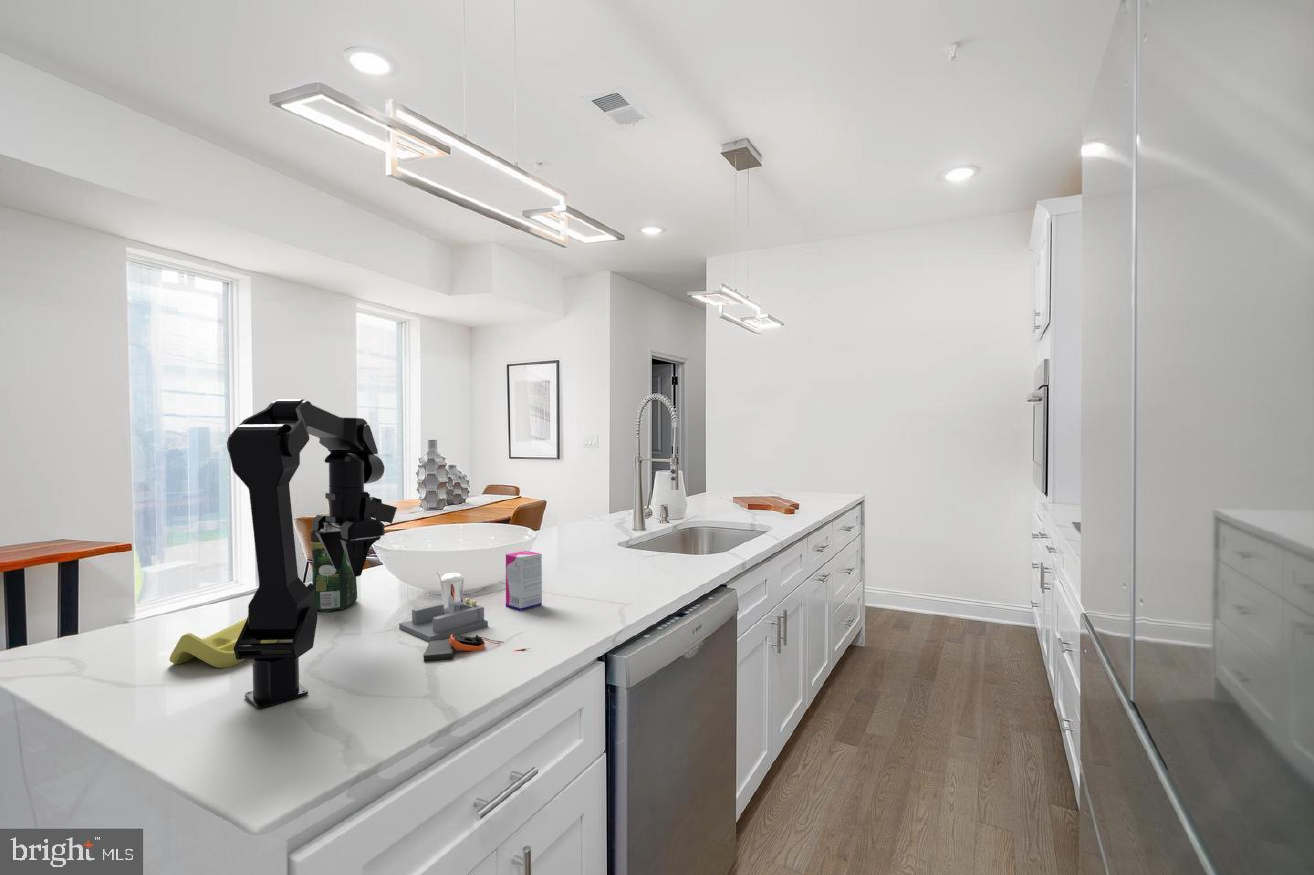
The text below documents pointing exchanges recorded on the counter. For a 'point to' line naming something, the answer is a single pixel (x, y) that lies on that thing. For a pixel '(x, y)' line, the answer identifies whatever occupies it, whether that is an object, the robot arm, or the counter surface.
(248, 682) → the counter surface
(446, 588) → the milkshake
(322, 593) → the coffee jar
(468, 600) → the header socket
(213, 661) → the plastic component
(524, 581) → the supplement box
